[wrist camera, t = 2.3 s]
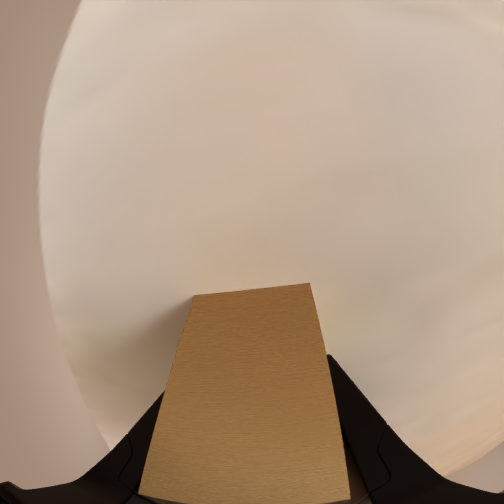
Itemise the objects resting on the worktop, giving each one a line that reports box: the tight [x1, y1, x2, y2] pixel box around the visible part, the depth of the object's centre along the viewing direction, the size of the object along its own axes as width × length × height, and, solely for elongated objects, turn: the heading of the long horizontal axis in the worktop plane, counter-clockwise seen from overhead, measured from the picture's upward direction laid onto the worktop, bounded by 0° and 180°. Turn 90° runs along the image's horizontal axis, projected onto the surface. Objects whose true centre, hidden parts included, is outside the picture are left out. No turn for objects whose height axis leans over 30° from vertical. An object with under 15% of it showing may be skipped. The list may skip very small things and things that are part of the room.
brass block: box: [138, 283, 351, 504], centre depth 7 cm, size 4×4×7 cm
